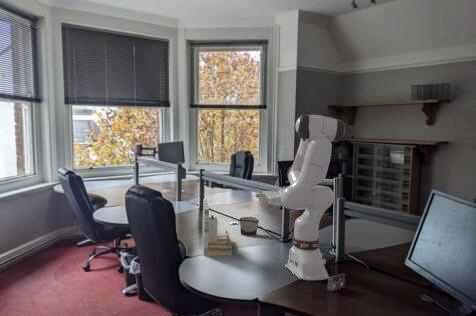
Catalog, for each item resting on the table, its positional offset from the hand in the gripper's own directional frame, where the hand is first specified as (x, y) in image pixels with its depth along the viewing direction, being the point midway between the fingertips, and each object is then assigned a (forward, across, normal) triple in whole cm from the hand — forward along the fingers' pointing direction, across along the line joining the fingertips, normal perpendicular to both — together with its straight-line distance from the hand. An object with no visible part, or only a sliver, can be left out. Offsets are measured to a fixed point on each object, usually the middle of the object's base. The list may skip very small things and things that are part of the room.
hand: (257, 197), depth 196 cm
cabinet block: (+23, -3, +24) cm, 34 cm away
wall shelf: (+20, -3, +28) cm, 35 cm away
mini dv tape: (-25, +50, +28) cm, 63 cm away
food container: (-1, -26, +28) cm, 38 cm away
